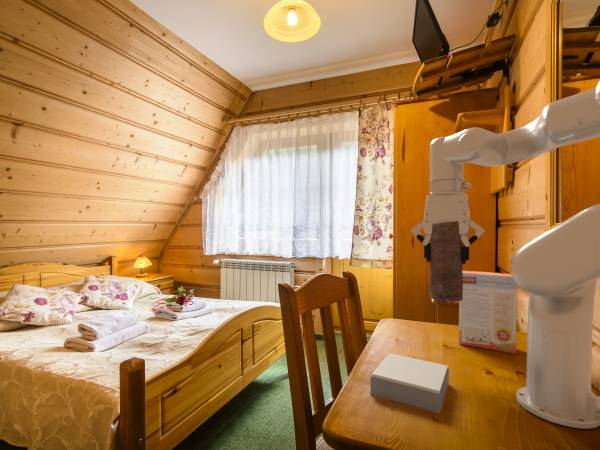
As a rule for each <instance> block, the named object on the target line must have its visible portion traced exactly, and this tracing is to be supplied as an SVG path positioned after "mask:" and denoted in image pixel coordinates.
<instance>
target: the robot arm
mask: <svg viewBox="0 0 600 450" xmlns="http://www.w3.org/2000/svg"><path fill="white" fill-rule="evenodd" d="M596 138H600V80H599V81H598V84H597V86H596V87H595V88H592V89H588V90H586V91H585V90H584V91H583V92H579V93H576V94H573V95H570V96H566V97H563V98H561V99H558V100H553V101H552V102H550V103H547V105H546V106H545V107H544V108H543V110H542V112H541V113H540V114H539V116H537V118H536V119H535V120H533V121H532V122H529V123H528V124H526V125H523V126H521V127H518V128H515V129H512V130H508V131H505V132H500V133H495V132H494V131H490V130H487V129H485V128H482V127H477V126H475V127H474V126H473V127H470V128H466V129H464V130H461V131H459V132H457V133H455V134H451V135H447V136H446V135H445V136H440V137H437V138H434V139H433V140H432V141H431V142H430V145H429V194H427V195H426V197H425V198H426V199H425V204H424V210H423V211H424V212H423V219H422V220H421V221H420V222H418V223H417V224H416V225H414V226H413V227H412V228H411V230H410V232H411V233H412V234H413V235H414V236H415V237H416V239H417V240H418V241H419V242H420V243H421V244H422V245H423V258H424V259H425V260H426V263H430V239H431V234H432V224H437V223H438V224H439V223H442V222H447V223H450V222H456V221H458V222H459V234H460V235H461V240H462V242H463V245H462V246H463V247H462V263H463V265H466V264H467V261H470V247H471V245H473V244H474V243H475V242H476V241H477V240H478V239H479V238H480V237H481V236H482V235H483V234H484V233H485V229H484V228H483V227H482V226H480V225H479V224H477V223H476V222H475V221H473V220H472V219H471V211H470V203H469V197H468V194H467V193H464V192H465V191H466V190H469V189H470V190H471V183H470V182H469V183H468V182H465V181H464V180H465V179H464V177H465V176H464V173H465V171H464V170H465V169H464V168H465V167H464V165H465V163H468V164H473V165H474V164H475V165H479V166H481V167H482V166H483V167H487V168H489V167H491V168H492V167H498V166H504V165H509V164H514V163H517V162H522V161H526V160H529V159H532V158H535V157H538V156H541V155H543V154H546V153H549V152H552V151H553V150H555V149H558V148H560V147H565V146H568V145H572V144H576V143H581V142H585V141H589V140H594V139H596ZM471 228H472V229H474V230H475V233H474V234H473V235H472V236H470V238H468V236H467V235H468V234H469V233H471ZM421 229H422V231H423V233H424V234H425V235H426V236H423V234H421V232H420V230H421ZM509 267H510V274H511V275H512V277H513V279H514V281H515V282H516V284H517V287H519V288H520V289H522V290H523V291H525V292H526V293H527V294H529V298H528V306H527V332H526V333H527V334H526V335H527V336H526V339H527V340H526V372H525V373H526V376H525V378H526V379H525V381H526V382H525V384H526V385H525V386H523V387H521V388H519V389H518V390H516V394H515V395H516V401H517V403H518V404H519V405H520V406H522V408H523V409H525V410H527V411H528V412H529V413H531V414H533V415H534V416H536V417H538V418H541V419H544V420H545V421H548V422H551V423H554V424H557V425H561V426H564V427H569V428H575V429H584V430H585V429H594V428H595V429H596V428H598V427H600V396H597V395H596V394H595V393H594V392H593V391H592V363H593V361H592V359H593V358H592V357H593V356H592V355H593V354H592V353H593V332H594V330H593V327H594V325H593V324H594V307H595V306H594V305H595V297H596V296H595V295H596V290H597V282H598V279H599V278H600V203H598V204H597V203H596V204H594V205H592V206H590V207H587V208H585V209H583V210H581V211H578V213H576V214H574V215H572V216H571V217H569V218H567V219H566V220H564V221H562V222H560V223H558V224H557V225H556V226H554V227H552V228H550V229H549V230H547V231H545V232H543V233H541V234H540V235H539V236H537V237H535V238H533V239H532V240H530V241H528V242H527V243H525V244H524V245H521V246H520V247H519V248H518V249H517V250H516V252H515V253H514V254H513V256H512V258H511V261H510V266H509Z"/></svg>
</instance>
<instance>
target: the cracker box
mask: <svg viewBox="0 0 600 450" xmlns="http://www.w3.org/2000/svg"><path fill="white" fill-rule="evenodd" d="M517 288H518V285H517V284H516V282H515V281H514V279H513V277H512V275H511V273H501V272H489V271H486V272H485V271H476V270H475V271H473V270H463V300H462V301H458V303H459V304H458V306H459V307H458V308H459V309H458V344H459V345H463V346H469V347H474V348H475V347H476V348H480V349H487V350H491V351H498V352H502V353H508V354H513V355H514V354H516V353H517V312H518V311H517V302H518V301H517V300H518V295H517V294H518V289H517Z"/></svg>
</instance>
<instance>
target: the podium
mask: <svg viewBox="0 0 600 450" xmlns="http://www.w3.org/2000/svg"><path fill="white" fill-rule="evenodd" d="M449 376H450V368H449V365H447V364H446V365H445V364H442V363H438V362H431V361H429V360H428V361H427V360H423V359H420V358H413V357H409V356H405V355H400V354H395V353H390V352H389V353H388V354H387V355H386V356H385V357H384V358H383V360H382V361H381V362H380V363H379V365H377V367H376V368H375V369H374V370H373V372H372V373H371V375H370V387H369V388H370V390H369V391H370V395H374V396H376V397H377V396H378V397H379V398H380V397H381V398H384V399H387V400H391V401H394V402H399V403H402V404H404V405H408V406H412V407H416V408H417V409H418V408H419V409H422V410H426V411H428V412H433V413H436V414H439V415H440V414H441V412H442V408H443V405H444V403H445V402H444V401H445V398H446V394H447V391H448V387H449V385H450V384H449V381H450V377H449Z"/></svg>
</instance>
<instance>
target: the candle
mask: <svg viewBox="0 0 600 450" xmlns="http://www.w3.org/2000/svg"><path fill="white" fill-rule="evenodd" d="M463 244H464V243H463V242H462V240H461V235H460V234H459V222H458V221H456V222H450V223H447V222H442V223H439V224H438V223H437V224H432V234H431V239H430V262H429V265H430V266H429V298H430V299H433V301H434V302H435V303H444V304H447V303H452V304H453V303H457V302H458V303H459V301H462V300H463V271H464V270H463V269H464V267H463V265H464V264H463V263H462V247H463Z"/></svg>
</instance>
